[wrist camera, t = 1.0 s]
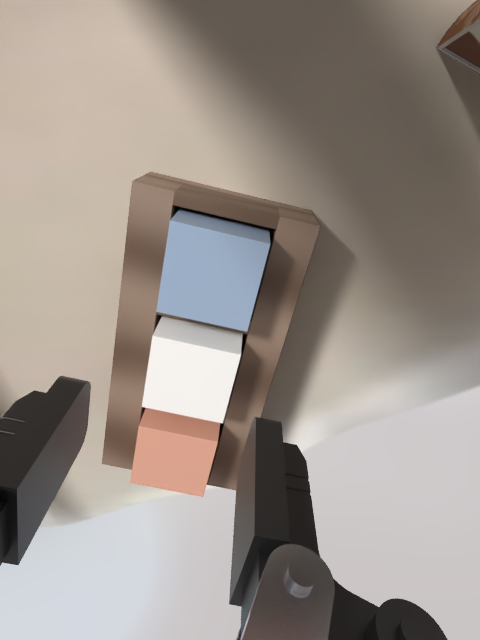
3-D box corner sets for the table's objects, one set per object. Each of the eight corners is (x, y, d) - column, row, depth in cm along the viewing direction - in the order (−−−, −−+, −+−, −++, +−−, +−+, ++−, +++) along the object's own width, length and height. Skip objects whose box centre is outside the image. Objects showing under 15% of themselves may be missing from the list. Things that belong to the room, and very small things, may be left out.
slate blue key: (180, 208, 23) (170, 220, 20) (269, 229, 23) (270, 244, 21) (167, 290, 25) (156, 311, 22) (248, 308, 25) (247, 331, 23)
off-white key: (163, 312, 26) (152, 335, 23) (242, 330, 26) (241, 354, 23) (153, 378, 28) (141, 406, 25) (226, 394, 28) (222, 423, 26)
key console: (150, 171, 25) (132, 181, 21) (311, 210, 26) (320, 226, 22) (118, 426, 34) (102, 463, 30) (239, 451, 34) (237, 490, 31)
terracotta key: (150, 396, 29) (138, 425, 26) (221, 411, 29) (217, 441, 26) (141, 450, 31) (130, 482, 28) (208, 463, 31) (203, 497, 28)
